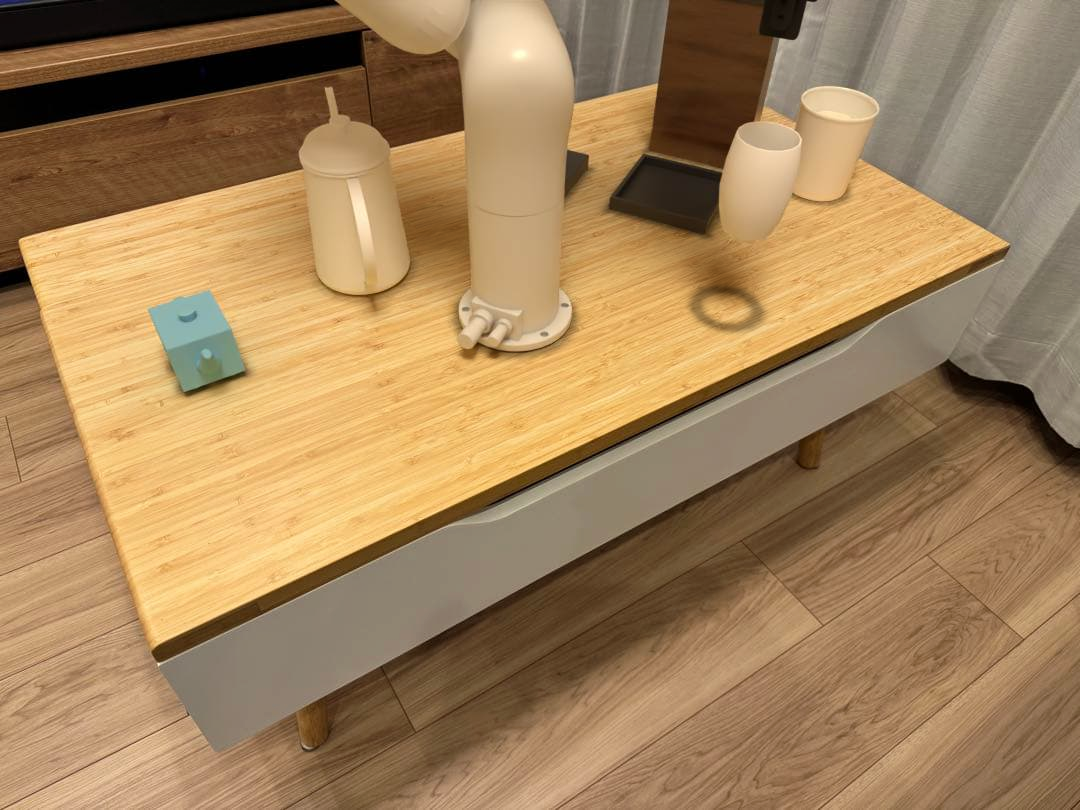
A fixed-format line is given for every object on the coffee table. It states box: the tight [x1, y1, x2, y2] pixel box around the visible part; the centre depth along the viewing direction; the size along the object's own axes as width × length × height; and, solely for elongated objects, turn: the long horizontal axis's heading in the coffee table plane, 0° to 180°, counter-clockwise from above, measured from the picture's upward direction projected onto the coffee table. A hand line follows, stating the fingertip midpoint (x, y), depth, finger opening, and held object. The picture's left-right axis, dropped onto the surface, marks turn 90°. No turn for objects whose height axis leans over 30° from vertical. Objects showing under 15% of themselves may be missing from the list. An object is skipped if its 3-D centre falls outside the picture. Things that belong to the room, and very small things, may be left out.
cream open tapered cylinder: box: [793, 85, 880, 202], centre depth 104 cm, size 10×10×12 cm
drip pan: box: [608, 153, 723, 235], centre depth 105 cm, size 13×13×2 cm
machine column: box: [648, 0, 781, 169], centre depth 106 cm, size 6×14×24 cm, turn 65°
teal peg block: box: [147, 289, 246, 393], centre depth 77 cm, size 12×6×8 cm, turn 33°
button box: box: [564, 149, 590, 198], centre depth 106 cm, size 12×10×4 cm
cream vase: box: [718, 120, 802, 245], centre depth 81 cm, size 7×7×21 cm
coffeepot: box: [298, 86, 411, 296], centre depth 86 cm, size 11×25×19 cm, turn 17°
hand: (789, 16), depth 67 cm, fingers open, 9 cm apart
